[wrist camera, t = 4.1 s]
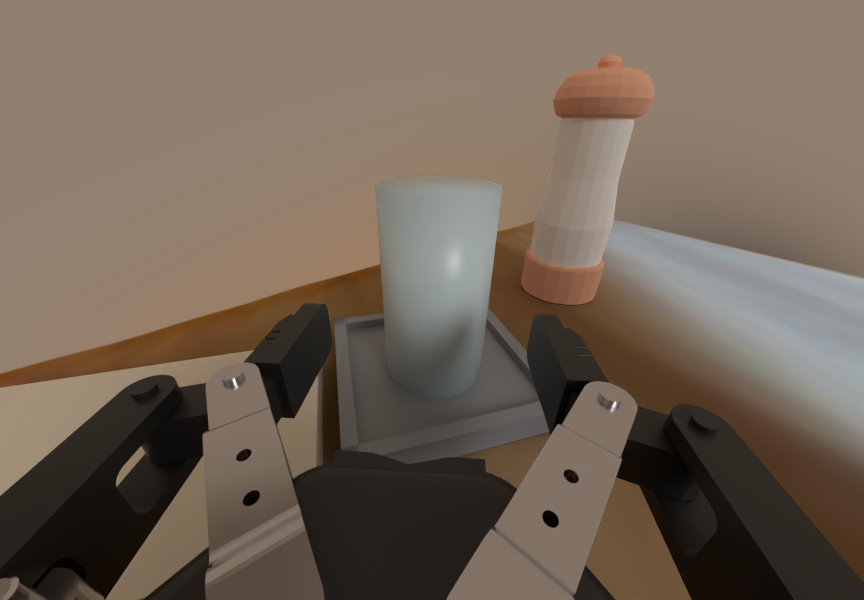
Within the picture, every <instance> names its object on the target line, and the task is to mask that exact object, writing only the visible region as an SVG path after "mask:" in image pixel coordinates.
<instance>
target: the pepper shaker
mask: <svg viewBox="0 0 864 600" xmlns="http://www.w3.org/2000/svg"><path fill="white" fill-rule="evenodd" d="M621 64H622V60H621V57H620V56H618V55H606V56H605V57H603V58H601V60H600V61H599V63H598V68H594V69H587V70H582V71H580V72H578V73H576V74H574V75H572V76H570V77H568V78H566V80H565V81H564V82H563V84H562V85H561V86H560V88H559V89H558V91H557V93H556V96H555V98H554V110H555V113H556V115H557V116H559V117H561V118H562V120H561V122H560V125H559V130H558V136H557V141H556V146H555V151H554V156H553V161H552V166H551V171H550V176H549V179H548V182H547V184H546V187H545V190H544V193H543V196H542V199H541V202H540V205H539V208H538V211H537V214H536V218H535V224H534V231H533V238H532V245H531V247H530V248H529V249H528V250H527V251H526V256H525V261H524V267H523V273H522V279H521V286H522V287H523V289H524V290H525V291H526V292H528V293H529V294H530V295H532V296H534V297H536V298H539V299H541V300H544V301H548V302H551V303H557V304H564V305H579V304H584V303H588V302H590V301H591V300H593V299H594V297H595V295H596V291H597V288H598V285H599V282H600V278H601V275H602V272H603V269H604V265H605V263H604V260H603V258H602V256H603V253H604V250H605V247H606V244H607V241H608V238H609V235H610V232H611V229H612V226H613V219H614V211H615V203H616V195H617V187H618V179H619V176H620V172H621V169H622V165H623V161H624V158H625V154H626V151H627V147H628V144H629V140H630V137H631V133H632V129H633V126H634V119H635V118H638V117H641V116H643V115H644V114H645V113H646V111H647V110H648V109H649V107H650V105H651V104H652V102H653V100H654V86H653V83H652V80H651V77H650V76H649V75H647V74H645V73H644V72H642V71H640V70H638V69H635V68H627V67H626V68H625V67H624V68H623V67H620V65H621Z"/></svg>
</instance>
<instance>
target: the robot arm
mask: <svg viewBox="0 0 864 600" xmlns="http://www.w3.org/2000/svg"><path fill="white" fill-rule="evenodd" d="M331 346H332V334H331V328H330V322H329V316H328V310H327V307H326V305H325V304H316V303H304V304H303V305H302V306H301V307H300V309H299V310H298V311H297V312H296V314H295V315H289V316H288V317H286V318H284V319H283V320H281V321H279V322H278V323H277V324H276V325H275V327H274V328H273V329H272V330H271V332H269V333H268V335H267V336H266V337H265V339H263V340H262V341H261V343H260V344H259V345H258V346H257V347H256V348H255V350H254V351H253V352H252V353H251V354H250V355H249V356H248V358H247V359H246V360H245V361H244V362H243V363H236V364H232V365H229V366H226V367H224V368H222V369H220V370H218V371H217V372H215V373H214V374H213V375H212V376H211V377H210V378H209V379H208V381H207V383H202V384H196V385H190V386H184V387H179V386H178V384H177V382H176V380H175V378H174V377H172V376H170V375H155V376H150V377H147V378H144V379H141V380H139V381H136V382H134V383H132V384H131V385H129V386H127V387H126V388H124V389H123V390H122V391H120V392H119V393H118V394H117V395H116V396H115V397H113V398H112V399H111V400H110V401H109V402H108V403H107V404H105V405H104V406H103V407H102V408H101V409H100V410H98V411H97V412H96V413H95V414H94V415H93V416H92V417H90V418H89V419H88V420H87V421H86V422H85V423H83V424H82V425H81V426H80V427H79V428H78V429H77V430H75V431H74V432H73V433H72V434H71V435H70V436H69V437H67V438H66V439H65V440H64V441H63V442H62V443H60V444H59V445H58V446H57V447H56V448H55V449H54V450H52V451H51V452H50V453H49V454H48V455H47V456H46V457H44V458H43V459H42V460H41V461H40V462H39V463H37V464H36V465H35V466H34V467H33V468H32V469H31V470H29V471H28V472H27V473H26V474H25V475H24V476H22V477H21V478H20V479H19V480H18V481H17V482H16V483H14V484H13V485H12V486H11V487H10V488H9V489H8V490H6V491H5V492H4V493H3V494H2V495H1V496H0V600H105V599H106V598H107V596H108V595H109V593H110V592H111V590H112V589H113V587H114V586H115V584H116V583H117V581H118V580H119V579H120V577H121V576H122V574H123V573H124V571H125V570H126V568H127V567H128V565H129V564H130V562H131V561H132V559H133V558H134V556H135V555H136V554H137V552H138V551H139V549H140V548H141V546H142V545H143V543H144V542H145V540H146V539H147V537H148V536H149V534H150V533H151V532H152V530H153V529H154V527H155V526H156V524H157V523H158V521H159V520H160V518H161V517H162V515H163V514H164V512H165V511H166V509H167V508H168V507H169V505H170V504H171V502H172V501H173V499H174V498H175V496H176V495H177V493H178V492H179V490H180V489H181V487H182V486H183V484H184V483H185V482H186V480H187V479H188V477H189V476H190V474H191V473H192V471H193V470H194V468H195V467H196V465H197V464H198V462H199V461H200V460H201V458H202V457H203V455H204V472H205V489H206V507H207V524H208V541H209V546H208V547H207V548H206V549H205V550H203V551H202V552H201V553H200V554H198V555H197V556H196V557H195V558H193V559H192V560H191V561H190V562H189V563H187V564H186V565H185V566H184V567H182V568H181V569H180V570H179V571H177V572H176V573H175V574H174V575H172V576H171V577H170V578H169V579H168V580H166V581H165V582H164V583H163V584H161V585H160V586H159V587H158V588H156V589H155V590H154V591H153V592H151V593H150V594H149V595H148V596H147V597H145V598H144V599H143V600H615V599H614V598H613V596H612V595H611V594H610V593H609V592H608V591H607V589H606V588H605V587H604V586H603V585H602V584H601V583H600V581H599V580H598V579H597V578H596V577H595V576H594V575H593V573H592V572H591V571H590V570H589V569H588V568H587V566H586V565H585V564H586V561H587V558H588V556H589V553H590V550H591V547H592V544H593V541H594V538H595V536H596V533H597V530H598V527H599V524H600V521H601V519H602V516H603V513H604V510H605V507H606V504H607V501H608V499H609V496H610V493H611V490H612V487H613V484H614V481H615V479H616V477H617V478H620V479H623V480H626V481H628V482H631V483H634V484H637V485H639V486H640V488H641V490H642V492H643V494H644V497H645V499H646V501H647V503H648V505H649V508H650V510H651V512H652V514H653V516H654V519H655V521H656V523H657V525H658V527H659V529H660V532H661V534H662V536H663V538H664V540H665V543H666V545H667V547H668V549H669V551H670V554H671V556H672V558H673V560H674V562H675V564H676V567H677V569H678V571H679V573H680V575H681V578H682V580H683V582H684V584H685V586H686V589H687V591H688V593H689V595H690V597H691V599H692V600H864V583H863V582H862V581H861V580H860V579H859V577H858V576H857V575H856V574H855V573H854V571H853V570H852V569H851V568H850V567H849V566H848V564H847V563H846V562H845V561H844V560H843V558H842V557H841V556H840V555H839V554H838V553H837V551H836V550H835V549H834V548H833V547H832V545H831V544H830V543H829V542H828V541H827V540H826V538H825V537H824V536H823V535H822V534H821V533H820V531H819V530H818V529H817V528H816V527H815V525H814V524H813V523H812V522H811V521H810V520H809V518H808V517H807V516H806V515H805V514H804V512H803V511H802V510H801V509H800V508H799V507H798V505H797V504H796V503H795V502H794V501H793V499H792V498H791V497H790V496H789V495H788V494H787V492H786V491H785V490H784V489H783V488H782V486H781V485H780V484H779V483H778V482H777V481H776V479H775V478H774V477H773V476H772V475H771V474H770V472H769V471H768V470H767V469H766V468H765V466H764V465H763V464H762V463H761V462H760V461H759V459H758V458H757V457H756V456H755V455H754V453H753V452H752V451H751V450H750V449H749V448H748V446H747V445H746V444H745V443H744V442H743V440H742V439H741V438H740V437H739V436H738V435H737V433H736V432H735V431H734V430H733V429H732V428H731V427H730V425H729V424H727V423H726V422H725V421H724V420H723V419H721V418H720V417H718V416H717V415H715V414H713V413H712V412H710V411H708V410H705V409H703V408H700V407H697V406H693V405H684V404H683V405H678V406H675V407H674V408H673V409H672V411H671V413H670V415H666V414H662V413H659V412H655V411H652V410H648V409H645V408H642V407H639V406H637V404H636V402H635V400H634V399H633V397H632V396H631V395H630V394H629V393H627V392H626V391H625V390H623V389H622V388H620V387H618V386H616V385H613V384H611V383H609V382H608V380H607V379H606V377H605V376H604V374H603V372H602V371H601V369H600V367H599V366H598V364H597V362H596V361H595V359H594V357H592V354H591V352H590V351H589V349H587V346H586V344H585V342H584V341H583V339H582V338H581V337H580V336H579V335H578V334H577V333H575V332H574V331H573V330H572V329H565V328H564V327H563V325H562V323H561V322H560V320H559V318H558V316H557V315H545V314H536V315H535V316H534V318H533V323H532V328H531V332H530V337H529V342H528V347H527V361H528V365H529V368H530V372H531V375H532V378H533V381H534V384H535V387H536V391H537V394H538V397H539V400H540V403H541V406H542V409H543V413H544V416H545V419H546V422H547V425H548V428H549V432H550V435H551V436H550V437H549V439H548V440H547V442H546V444H545V445H544V447H543V449H542V450H541V452H540V454H539V455H538V457H537V458H536V460H535V462H534V463H533V465H532V467H531V468H530V470H529V471H528V473H527V475H526V476H525V478H524V480H523V481H522V483H521V484H520V486H519V488H518V489H516V488H515V487H514V486H512V485H511V484H510V483H508V482H506V481H505V480H503V479H501V478H499V477H497V476H495V475H493V474H490V473H487V472H486V469H485V459H470V458H454V457H445V458H440V459H434V460H429V461H423V462H418V463H412V464H407V463H403V462H400V461H397V460H394V459H391V458H388V457H385V456H382V455H378V454H375V453H372V452H359V451H343V450H335V453H334V456H333V459H332V462H331V463H326V464H323V465H319V466H316V467H314V468H312V469H309V470H307V471H305V472H303V473H301V474H299V475H298V476H296V477H295V478H293V477H292V473H291V470H290V467H289V463H288V460H287V457H286V453H285V450H284V447H283V443H282V440H281V437H280V434H279V430H278V427H277V424H278V422H279V421H280V419H281V418H295V417H296V415H297V413H298V411H299V409H300V407H301V405H302V404H303V402H304V400H305V398H306V396H307V394H308V392H309V390H310V389H311V387H312V385H313V383H314V381H315V379H316V377H317V375H318V374H319V372H320V370H321V368H322V366H323V364H324V362H325V360H326V359H327V357H328V355H329V353H330V350H331ZM140 447H142V449H143V450H144V452H145V454H144V456H143V457H142V458H141V459H140V460H139V461H138V463H137V464H136V465H135V466H134V467H133V468H132V470H131V471H130V472H129V473H128V474H127V475H126V477H125V478H124V479H123V480H122V481H121V482H120V483H119V485H118V486H117V487H116V480H117V476H118V474H119V472H120V470H121V469H122V467H123V466H124V465H125V464H126V463H127V461H128V460H129V459H130V458H131V457H132V456H133V455H134V454H135V452H136V451H137V450H138V449H139V448H140ZM704 495H705V496H704Z"/></svg>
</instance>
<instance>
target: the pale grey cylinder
mask: <svg viewBox="0 0 864 600" xmlns="http://www.w3.org/2000/svg"><path fill="white" fill-rule="evenodd" d="M501 196H502V186H501V185H499V184H497V183H494V182H491V181H487V180H482V179H476V178H468V177H458V176H437V175H435V176H434V175H432V176H431V175H427V176H426V175H425V176H405V177H396V178H390V179H385V180H382V181H379V182H377V183H376V202H377V217H378V233H379V247H380V262H381V279H382V294H383V309H384V325H385V340H386V356H387V369H388V373H389V376H390V377H391V379H392V380H393V381H394V383H395V384H396V385H398V386H399V387H400V388H402V389H403V390H405V391H407V392H409V393H411V394H414V395H418V396H422V397H428V398H442V397H448V396H452V395H456V394H459V393H461V392H463V391H465V390H467V389H468V388H469V387H471V386H472V385H473V384H474V383H475V381H476V380H477V378H478V376H479V374H480V369H481V361H482V353H483V344H484V336H485V328H486V320H487V311H488V303H489V295H490V287H491V279H492V270H493V262H494V254H495V246H496V237H497V229H498V221H499V212H500V204H501Z"/></svg>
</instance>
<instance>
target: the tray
mask: <svg viewBox="0 0 864 600" xmlns="http://www.w3.org/2000/svg"><path fill="white" fill-rule="evenodd" d="M334 329H335V347H336V366H337V385H338V403H339V422H340V441H341V450H343V451H359V452H372V453H375V454H378V455H382V456H385V457H388V458H391V459H394V460H397V461H400V462H403V463H407V464H412V463H418V462H423V461H429V460H434V459H440V458H445V457H458V456H461V455H465V454H469V453H473V452H476V451H480V450H484V449H488V448H491V447H495V446H499V445H502V444H506V443H510V442H514V441H517V440H521V439H525V438H529V437H532V436H536V435H540V434H544V433H547V432H549V428H548V425H547V422H546V419H545V416H544V413H543V409H542V406H541V403H540V400H539V397H538V394H537V391H536V387H535V384H534V381H533V378H532V375H531V372H530V368H529V365H528V361H527V351H526V350H525V349H524V348H523V346H522V345H521V344H520V343H519V342H518V341H517V340H516V338H515V337H514V336H513V335H512V334H511V333H510V332H509V331H508V329H507V328H506V327H505V326H504V325H503V324H502V323H501V321H500V320H499V319H498V318H497V317H496V316H495V315H494V314H493V312H492V311H491V310H490V309H489V308H488V311H487V320H486V328H485V336H484V344H483V353H482V361H481V369H480V374H479V376H478V378H477V380H476V381H475V383H474V384H473V385H472V386H471V387H469V388H468V389H467V390H465V391H463V392H461V393H459V394H456V395H452V396H448V397H442V398H428V397H422V396H418V395H414V394H411V393H409V392H407V391H405V390H403V389H402V388H400V387H399V386H398V385H396V384H395V383H394V381H393V380H392V379H391V377H390V376H389V373H388V369H387V356H386V340H385V325H384V313H379V314H371V315H364V316H356V317H349V318H341V319H334Z"/></svg>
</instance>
